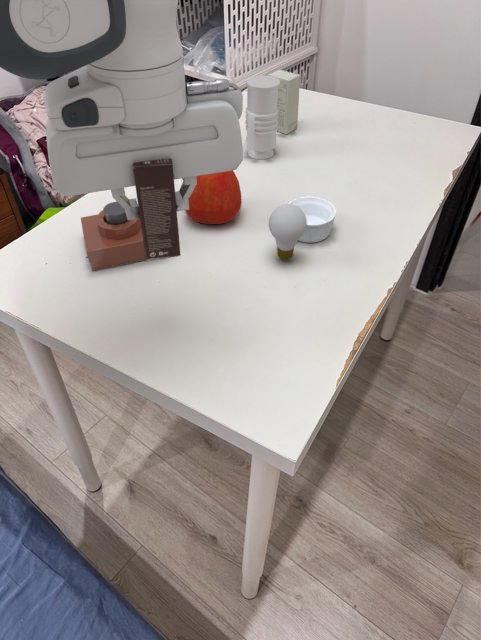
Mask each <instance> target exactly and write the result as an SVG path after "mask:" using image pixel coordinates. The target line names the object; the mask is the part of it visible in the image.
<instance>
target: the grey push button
mask: <svg viewBox="0 0 481 640" xmlns="http://www.w3.org/2000/svg"><path fill="white" fill-rule="evenodd" d="M102 210H103V212H104V216H105V220H106V222H107V224H110V225H120V224H124V223H126V222H128V221H129V220H127V216H126V212H125V209H124V208H123V207H122V206H121V205H120V204H119V203H118V202H117V201H112V202H109V203H107V204H106V205H104V207H103V209H102Z"/></svg>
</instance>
